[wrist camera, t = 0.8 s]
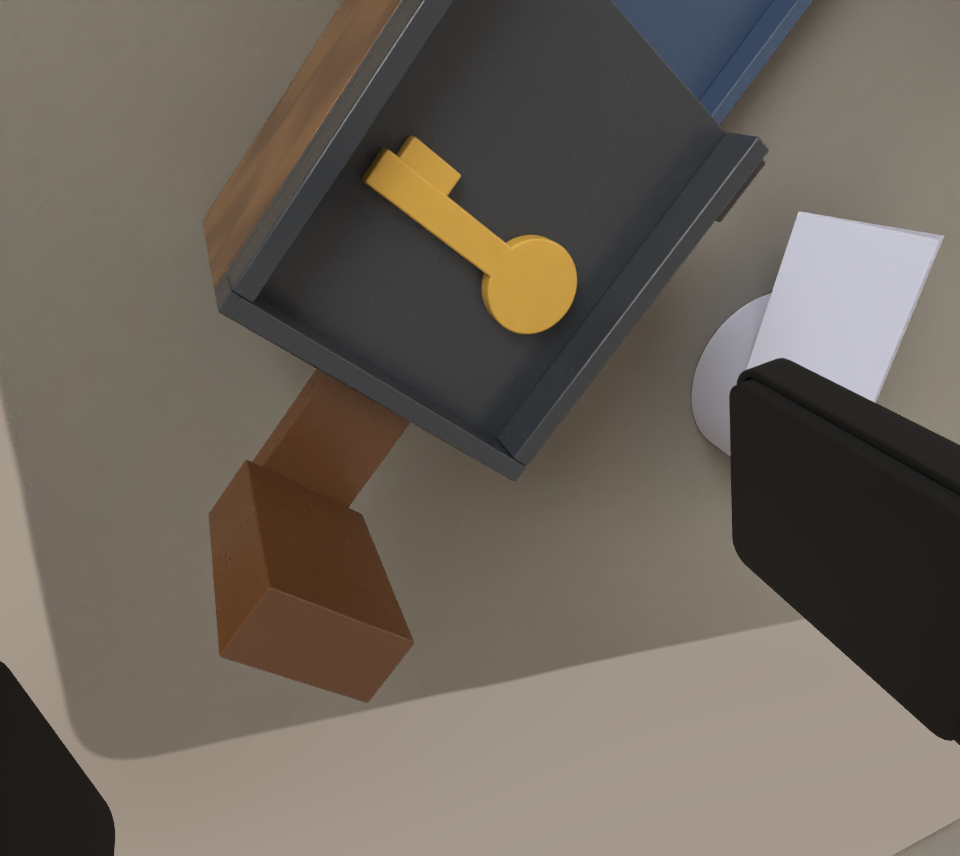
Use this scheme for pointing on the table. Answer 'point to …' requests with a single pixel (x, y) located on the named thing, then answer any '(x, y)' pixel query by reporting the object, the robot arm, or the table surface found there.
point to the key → (479, 240)
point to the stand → (305, 128)
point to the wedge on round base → (821, 313)
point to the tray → (714, 41)
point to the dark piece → (445, 294)
